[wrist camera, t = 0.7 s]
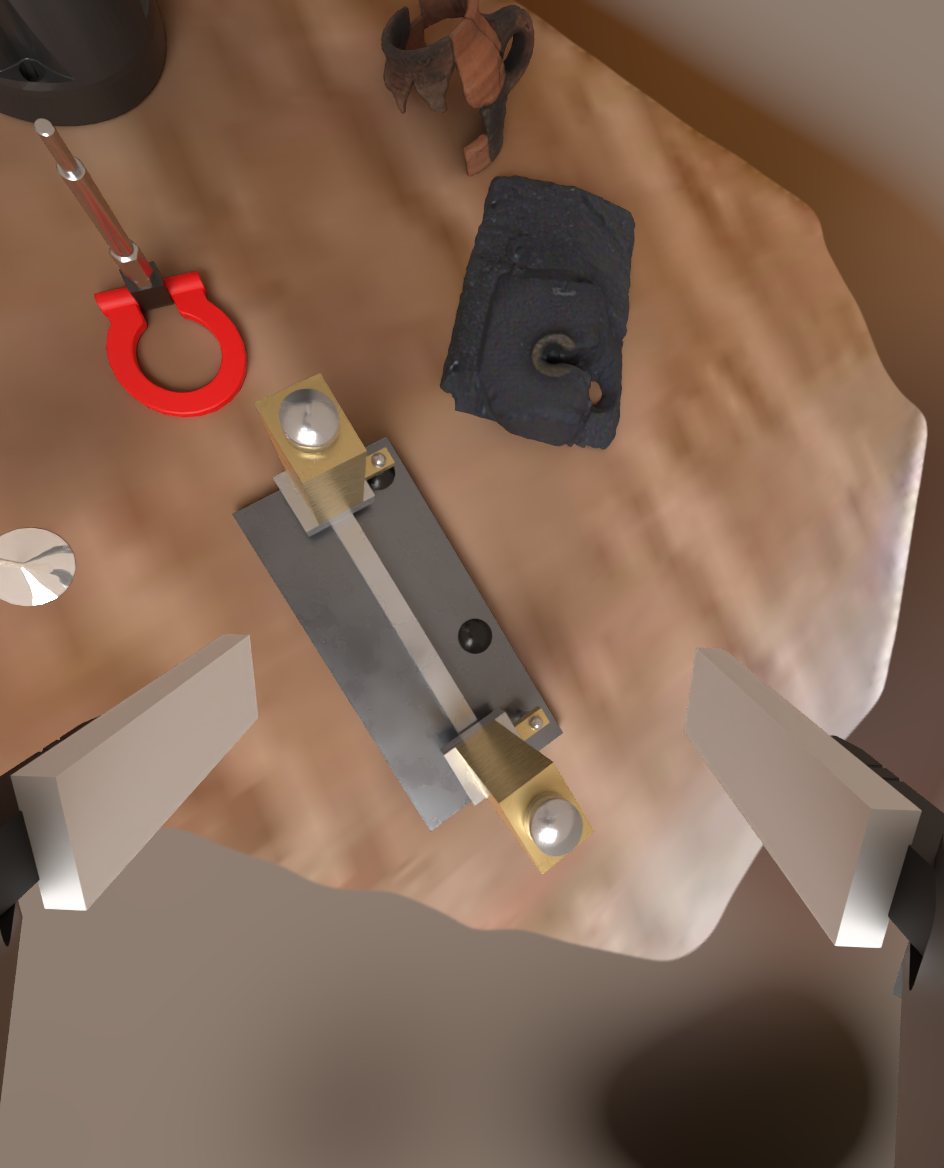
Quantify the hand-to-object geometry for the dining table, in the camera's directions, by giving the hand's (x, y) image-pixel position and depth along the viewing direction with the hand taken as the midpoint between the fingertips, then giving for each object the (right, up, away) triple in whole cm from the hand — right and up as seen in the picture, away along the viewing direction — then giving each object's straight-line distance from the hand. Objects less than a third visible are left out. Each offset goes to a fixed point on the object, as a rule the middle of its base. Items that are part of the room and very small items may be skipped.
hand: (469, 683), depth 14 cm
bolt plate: (-5, -1, +22) cm, 22 cm away
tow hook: (-20, +19, +20) cm, 34 cm away
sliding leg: (+2, -8, +21) cm, 23 cm away
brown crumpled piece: (-1, +41, +26) cm, 49 cm away
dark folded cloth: (+6, +25, +27) cm, 37 cm away
